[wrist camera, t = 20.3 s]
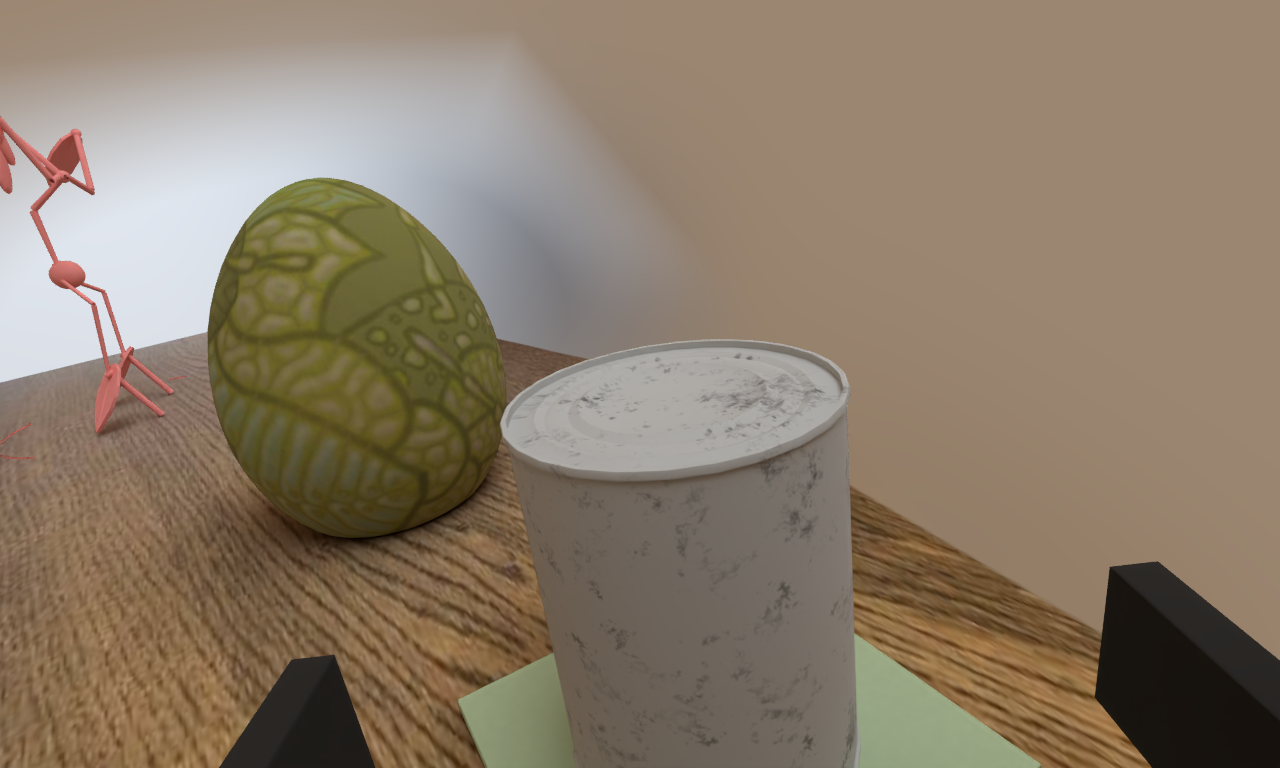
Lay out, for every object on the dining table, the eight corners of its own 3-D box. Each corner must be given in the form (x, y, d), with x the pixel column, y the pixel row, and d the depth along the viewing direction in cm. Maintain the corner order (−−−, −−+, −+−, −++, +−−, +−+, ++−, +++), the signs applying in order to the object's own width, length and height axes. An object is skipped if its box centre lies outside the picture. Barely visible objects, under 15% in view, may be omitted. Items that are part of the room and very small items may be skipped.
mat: (746, 566, 32) (745, 556, 32) (1040, 779, 20) (1041, 763, 20) (460, 711, 26) (457, 699, 26) (644, 1133, 14) (640, 1116, 14)
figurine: (188, 374, 84) (70, 66, 72) (164, 437, 62) (-10, 9, 50) (34, 410, 77) (-123, 78, 65) (-53, 494, 55) (-312, 19, 44)
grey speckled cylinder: (693, 951, 17) (623, 523, 13) (526, 719, 24) (448, 405, 20) (924, 736, 22) (928, 374, 17) (724, 598, 29) (694, 324, 25)
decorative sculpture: (203, 555, 40) (60, 213, 33) (384, 436, 54) (310, 180, 48) (428, 582, 34) (310, 175, 28) (565, 442, 49) (510, 150, 42)
